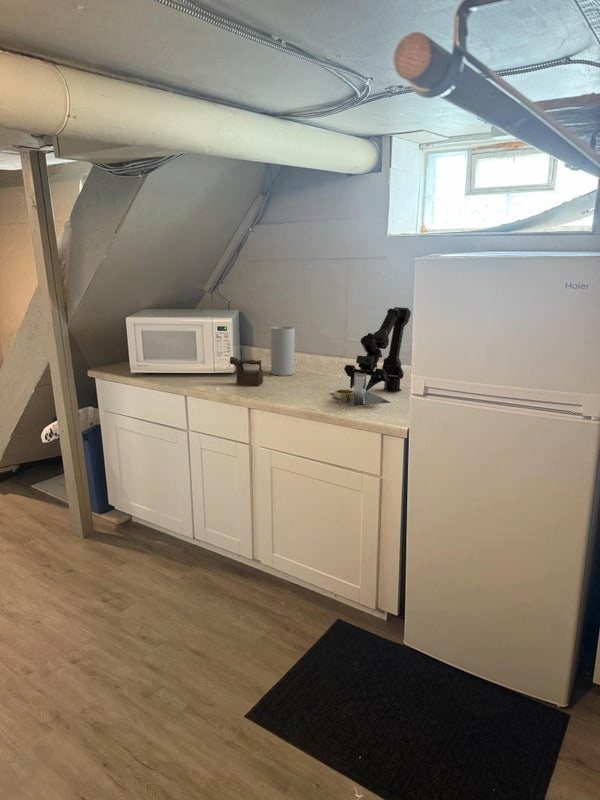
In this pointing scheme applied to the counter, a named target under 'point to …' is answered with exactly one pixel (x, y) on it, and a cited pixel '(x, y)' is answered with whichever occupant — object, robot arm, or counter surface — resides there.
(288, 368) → the cylinder vase
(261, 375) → the clothes iron
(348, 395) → the base
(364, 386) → the grey cylindrical piece
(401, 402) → the counter surface
